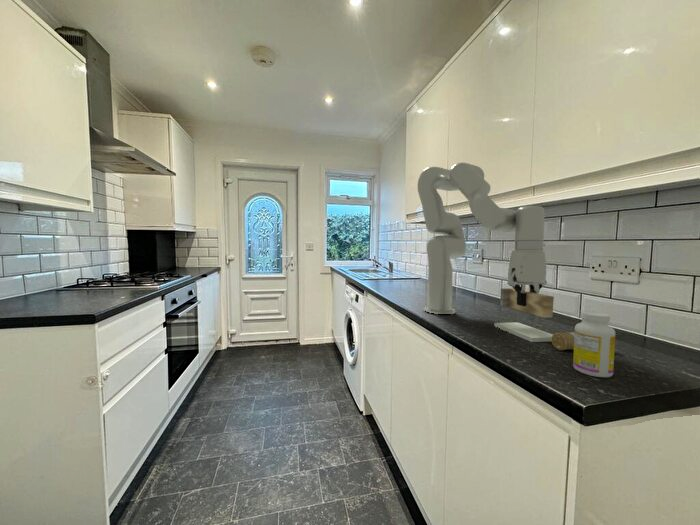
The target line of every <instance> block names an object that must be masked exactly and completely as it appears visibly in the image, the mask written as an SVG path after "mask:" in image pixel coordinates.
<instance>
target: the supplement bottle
mask: <svg viewBox="0 0 700 525" xmlns="http://www.w3.org/2000/svg"><path fill="white" fill-rule="evenodd" d="M580 317H581V322H578V323H576V325H575V326H574V332H575V335H574V349H573V358H572V359H573V361H572V362H573V363H572V366H573V368H574V369H575V370H576V371H578V372H580V373H582V374H584V375H587V376H591V377H597V378H611V377H612V376H613V375H614V369H615V368H614V365H615V351H616V350H615V349H616V348H615V345H616V330H615V329H614V328H613V327H612V326H609V323H610V321H611V315H610V314H608V313H603V312H597V311H589V310H588V311H586V310H585V311H584V310H583V311H581V312H580Z"/></svg>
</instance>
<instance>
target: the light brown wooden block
mask: <svg viewBox="0 0 700 525" xmlns="http://www.w3.org/2000/svg"><path fill="white" fill-rule="evenodd" d="M525 293H526V306H521V305H517V292H515V289H514V288H513V287H511V288H509V287H508V288H505V287H504V288H500V305H499V306H500V307H504V308H506V307H508V308H511V309H514V310H517V311H521V312H525V313H527V314H530V315H534V316H537V317H539V318H547V319H548V318H553V315H554V313H553V312H554V299H555V296H553V295H548V294H545V293H544V294H542V293H540V292H539V293H534V292H530V291H529V290H525Z"/></svg>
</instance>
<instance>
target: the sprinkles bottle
mask: <svg viewBox="0 0 700 525" xmlns="http://www.w3.org/2000/svg"><path fill="white" fill-rule="evenodd" d="M574 335H575V331H571V332H569V331H568V332H555V333H553V336H552V338H551V341H550V342H551V344H552V346H553V348H555V349H557V350H558V351H565V350H571V351H572V350H573V351H574Z"/></svg>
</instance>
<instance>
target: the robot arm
mask: <svg viewBox="0 0 700 525" xmlns="http://www.w3.org/2000/svg"><path fill="white" fill-rule="evenodd" d="M438 190H441V191H447V192H451V191H452V192H453V191H459V192H460V193H461V194H462V195H463V196H464V197H465V198H466V200H467V201H468V206H469V208H470V212H471V213H472V215H473V216H474V217H475V219H477V220H478V222H479V223H480V224H481V225H482V226H483V227H484V228H486V229H487V230H489V231H491V232H493V231H494V232H503V233H513V232H514V233H515V234H514V250H512V251H511V253H510V256H509V257H510V258H509V263H508V272H507V273H508V274H507V279H508V280H507V285H509V286H510V287H511V288H514V289H515V292H517V305H521V306H526V293H525V291H526V288H527V284H528V291H530V292H534V293H539V294H540V290H541V289H542V288H543V287H544V286H546V285H547V284H548V282H547V279H546V278H547V262H546V253H545V251H544V248H545V246H546V244H545V243H544V235H545V234H544V232H545V209H544V207H542V206H539V205H527V206H521V207H518V208H517V209H509V208H504V207H500V206H499V205H497V204H496V203H495V202H494V201H493V200H492V198H491V197H490V196H489V194H490V193H491V192H490V191H491V184H489V182H488V181H486V179H485V172H484V170H483V169H482V168H481V167H480V166H478V165H475V164H471V163H468V162H457V163H455V164H454V165H452V166H451V167H450V169H448V168H443V167H440V166H428V167H426V168H425V169H423V170H422V172H421V173H420V174H419V177H418V180H417V193H418V198H419V199H420V203H421V206H422V212H423V214H422V215H423V218H424V224H425V227H426V229H427V230H426V231H428V232H429V233H431V234H435V236H433V237H431V238H430V239H429V240H428V241H427V245H426V254H427V261H428V264H427V265H428V272H427V274H428V278H427V283H428V284H427V299H426V303H427V306H424V307H423V312H425V311H426V312H425V313H427V312H429V313H428V314H431V313H434V314H433V315H438V314H451V315H454V314H455V313H456V309H455V308H452V300H453V297H452V296H453V264H452V261H451V259H452V260H453V259H459V258H462V257H463V256H464V255H465V253H466V251H467V242H466V238H465V234H464V229H463V225H462V222H461V219H460V217H459V215H457V214H455V213H453V212H450V211H449V212H448V211H446V210H445V206H444V202H443V198H442V196H441V195H440V193H439V192H438Z"/></svg>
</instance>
